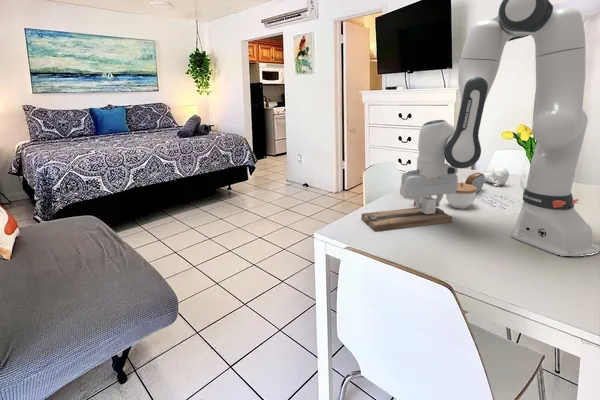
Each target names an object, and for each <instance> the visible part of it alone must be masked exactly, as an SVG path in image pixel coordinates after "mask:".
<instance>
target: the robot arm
mask: <svg viewBox="0 0 600 400" xmlns="http://www.w3.org/2000/svg"><path fill="white" fill-rule="evenodd" d="M529 36H531V37H532V38H533V40H534V46H535V53H534V55H535V94H534V100H533V109H532V110H533V111H532V113H533V114H532V127H531V133H532V137H533V138H534V140H535V141H536V145H535V149H534V152H533V155H532V159H531V160H530V165H529V171H528V174H527V175H528V177H527V183H526V187H525V188H524V189H523V193H522V201H523V203H522V206H521V209H520V212H519V215H518V218H517V221H516V223H515V225H514V228H513V229H512V232H513V233H512V236H511V238H513V239H516V240H518V241H520V242H523V243H526V244H528V245H530V246H533V247H534V248H538V249H540V250H543V251H546V252H548V253H551V254H553V253H554V254H553V255H556V254H557V255H556V256H558V255H560V256H559V257H563V256H581V255H587V254H592V253H596V252H598V251H599V250H600V246H599V245H598V244H595V243H594V242H592V241H593V229H592V227H591V226H590V225H589V224H588V222H586V221H585V220H584V218H583V217H582V216H581V215H580V214H579V212H578V211H577V210H576V209H575V204H579V202H578V201H580V200H579V199H574V197H573V194H572V189H573V183H574V179H575V174H576V169H577V165H578V161H579V157H580V154H581V150H582V146H583V142H584V138H585V134H586V131H587V130H586V129H587V128H588V127H587V126H588V121H589V120H588V115H587V113H586V111H585V110H584V109H583V108H584V107H583V106H584V96H585V95H584V93H585V83H586V56H587V55H586V50H587V49H586V32H585V26H584V21H583V16H582V13H581V11H579V10H578V9H577V8H574V7H561V8H556V9H555V8H554V6H553V4H552V3H551V2H550V0H502V1H501V3H500V4H499V8H498V13H497V16H495V17H493V18H486V19H482V20H478V21H476V22H475V23H474V24H472V26H471V27H470V29H469V31H468V34H467V36H466V38H465V41H464V45H463V48H462V51H461V56H460V59H459V60H460V61H459V66H458V77H457V78H458V79H457V81H458V82H457V83H458V87H459V92H460V105H459V106H460V107H459V112H458V117H457V122H456V126H454V125H452V124H450V123H449V122H448V121H446V120H445V119H435V120H431V121H427V122H425V123H423V125H422V126H421V127H420V131H419V134H418V135H419V136H418V143H417V144H418V145H417V147H418V156H417V158H416V159H417V161H416V169H412V170H413V171H410V170H406V171H405V172H404V173H402V174H401V183H400V188H399V194H400V196H401V197H402V198H404V199H412V198H413V202H414V201H415V203H416V204H414V205H415V207H414V208H417V209H420V208H422V207H421V206H422V204H421V203H419V201H418V200H419V199H420V197H423V196H431V197H432V196H436V198H435V199H436V208H437V207H438V208H439V207H440V202H441V200H443V197H444V195H446V194H452V193H455V192H456V191H457V186H458V183H459V182H458V181H459V179H458V175H457V173H458V172H459V171H458V170H459V169H467V168H470V167H472V166H474V165H475V164H476V163H477V162H478V161H479V160H480V157H481V155H482V146H481V143H480V140H479V139H480V138H479V131H480V126H481V121H482V118H483V112H484V107H485V103H486V102H487V101H486V100H487V98H488V96H489V93H490V91H491V89H492V87H493V85H494V82H495V79H496V76H497V74H498V72H499V68H500V65H501V60H502V56H503V52H504V49H505V46H506V44H507V42H511V41H514V40H518V39H523V38H526V37H529ZM445 162H447V163H445ZM593 249H594V250H593Z"/></svg>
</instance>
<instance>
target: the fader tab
mask: <svg viewBox="0 0 600 400" xmlns="http://www.w3.org/2000/svg"><path fill="white" fill-rule="evenodd" d="M419 203H421V204H422V206H421V207H422V208H420V209H418V210H420V211H421V212H423V213H425V214H434V213H435V209H436V208H437V207H436V198H435V197H432V196H431V197H430V196H423V197H420V199H419Z"/></svg>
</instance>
